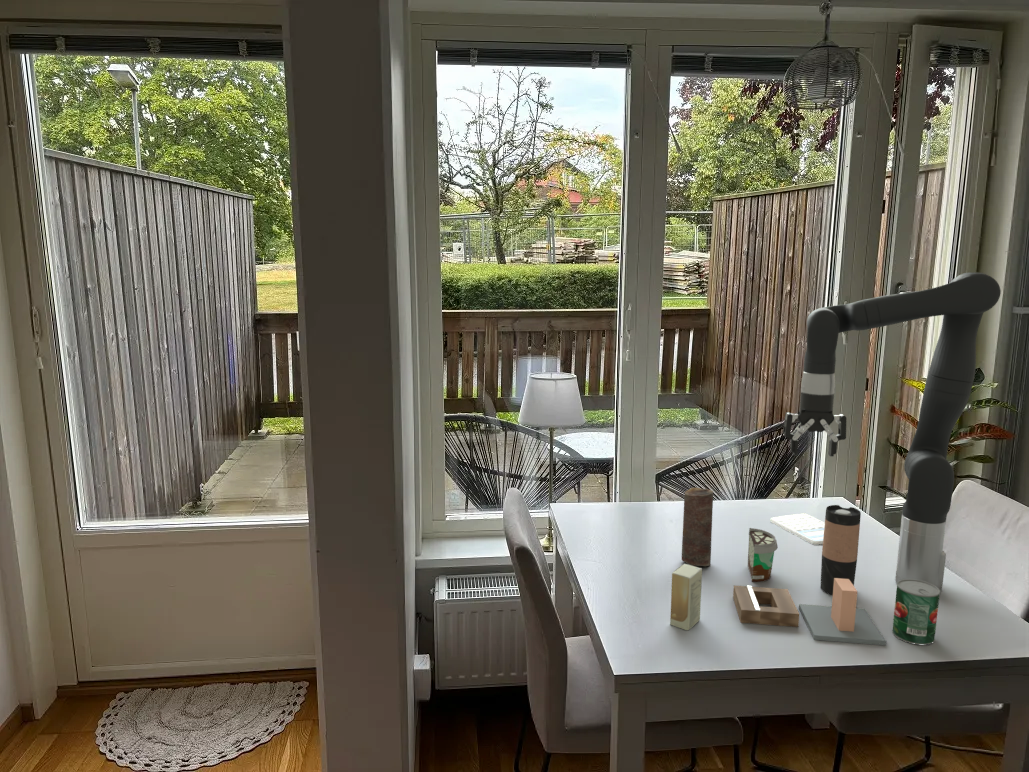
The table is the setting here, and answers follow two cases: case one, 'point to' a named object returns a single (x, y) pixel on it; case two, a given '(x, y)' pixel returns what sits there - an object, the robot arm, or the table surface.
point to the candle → (697, 527)
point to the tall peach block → (844, 604)
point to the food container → (760, 554)
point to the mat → (828, 631)
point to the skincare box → (686, 596)
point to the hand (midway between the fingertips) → (812, 455)
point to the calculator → (802, 526)
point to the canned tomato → (915, 611)
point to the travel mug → (839, 545)
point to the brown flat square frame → (777, 614)
